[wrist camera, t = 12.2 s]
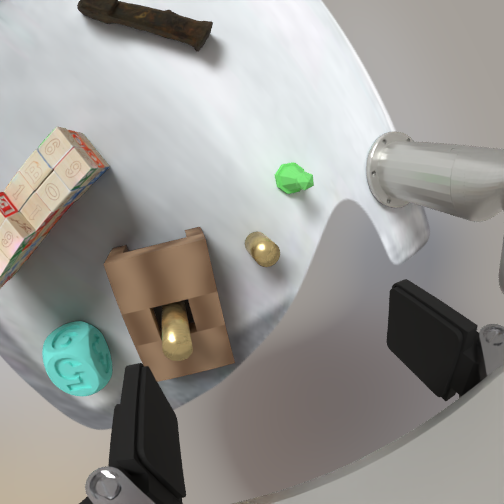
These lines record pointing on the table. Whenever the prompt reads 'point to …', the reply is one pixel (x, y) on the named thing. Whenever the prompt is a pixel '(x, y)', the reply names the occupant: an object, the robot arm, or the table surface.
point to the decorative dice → (77, 359)
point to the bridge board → (169, 291)
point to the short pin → (262, 249)
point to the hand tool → (148, 20)
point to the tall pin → (176, 331)
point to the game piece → (293, 178)
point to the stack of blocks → (44, 194)
